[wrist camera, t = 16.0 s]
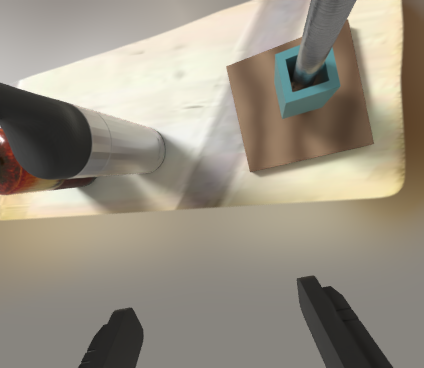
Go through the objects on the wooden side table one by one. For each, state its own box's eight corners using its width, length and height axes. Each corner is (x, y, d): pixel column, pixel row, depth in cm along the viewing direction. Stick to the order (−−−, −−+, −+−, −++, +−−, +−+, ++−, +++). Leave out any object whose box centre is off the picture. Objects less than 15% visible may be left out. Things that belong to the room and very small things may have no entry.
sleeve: (282, 119, 30) (285, 103, 22) (274, 83, 29) (275, 54, 22) (321, 107, 28) (340, 86, 20) (313, 69, 28) (329, 33, 20)
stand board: (250, 171, 36) (250, 172, 35) (228, 70, 36) (226, 66, 34) (369, 144, 31) (373, 143, 30) (344, 26, 31) (347, 19, 29)
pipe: (287, 113, 32) (327, -11, 10) (284, 96, 32) (315, -68, 9) (305, 108, 32) (394, -41, 9) (301, 91, 32) (382, -103, 9)
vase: (71, 129, 46) (-73, 104, 27) (106, 154, 44) (-23, 146, 25) (55, 170, 49) (-88, 174, 29) (88, 195, 47) (-43, 217, 27)
